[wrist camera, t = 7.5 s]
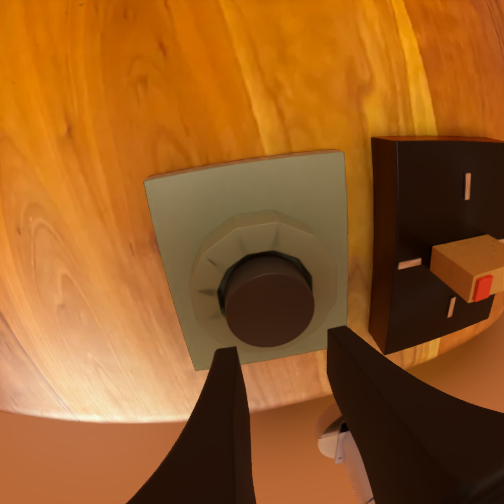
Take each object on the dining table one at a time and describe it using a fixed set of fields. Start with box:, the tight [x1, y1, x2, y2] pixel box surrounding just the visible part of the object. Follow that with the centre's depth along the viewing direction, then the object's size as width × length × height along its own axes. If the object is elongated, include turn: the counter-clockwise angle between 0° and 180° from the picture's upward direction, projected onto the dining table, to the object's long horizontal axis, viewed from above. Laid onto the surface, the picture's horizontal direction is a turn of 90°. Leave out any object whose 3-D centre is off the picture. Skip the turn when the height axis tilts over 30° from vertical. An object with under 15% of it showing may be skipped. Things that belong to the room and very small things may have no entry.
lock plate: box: [369, 136, 504, 355], centre depth 16 cm, size 12×9×3 cm
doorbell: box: [144, 149, 348, 371], centre depth 15 cm, size 11×9×3 cm
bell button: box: [224, 255, 315, 348], centre depth 13 cm, size 4×4×2 cm
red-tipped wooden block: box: [430, 234, 504, 303], centre depth 13 cm, size 4×1×4 cm, turn 98°
